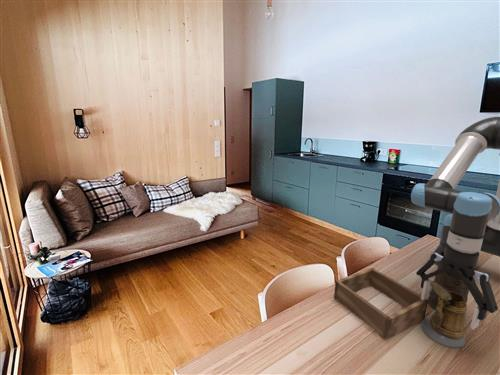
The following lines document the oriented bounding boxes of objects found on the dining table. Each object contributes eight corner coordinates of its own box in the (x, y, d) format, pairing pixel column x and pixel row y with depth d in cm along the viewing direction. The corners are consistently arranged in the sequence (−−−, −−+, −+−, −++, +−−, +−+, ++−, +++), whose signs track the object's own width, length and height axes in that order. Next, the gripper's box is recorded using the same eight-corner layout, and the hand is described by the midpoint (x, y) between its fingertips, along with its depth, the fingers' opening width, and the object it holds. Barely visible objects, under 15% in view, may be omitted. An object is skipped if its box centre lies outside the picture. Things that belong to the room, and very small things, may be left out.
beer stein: (473, 322, 87) (485, 265, 83) (436, 317, 89) (446, 261, 86) (449, 294, 102) (458, 245, 98) (417, 291, 104) (425, 242, 100)
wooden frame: (370, 283, 107) (372, 267, 106) (424, 318, 89) (428, 299, 87) (333, 297, 99) (335, 281, 97) (386, 339, 80) (389, 320, 79)
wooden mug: (412, 324, 85) (421, 273, 81) (442, 314, 90) (452, 266, 85) (440, 346, 77) (451, 291, 73) (472, 334, 81) (484, 281, 77)
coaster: (434, 315, 90) (434, 313, 90) (472, 339, 81) (473, 337, 81) (413, 327, 85) (414, 325, 85) (452, 353, 76) (453, 351, 76)
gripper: (410, 233, 84) (400, 291, 90) (514, 273, 63) (492, 347, 69) (425, 228, 88) (414, 285, 93) (528, 265, 66) (506, 336, 72)
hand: (447, 311), depth 81 cm, fingers open, 13 cm apart
